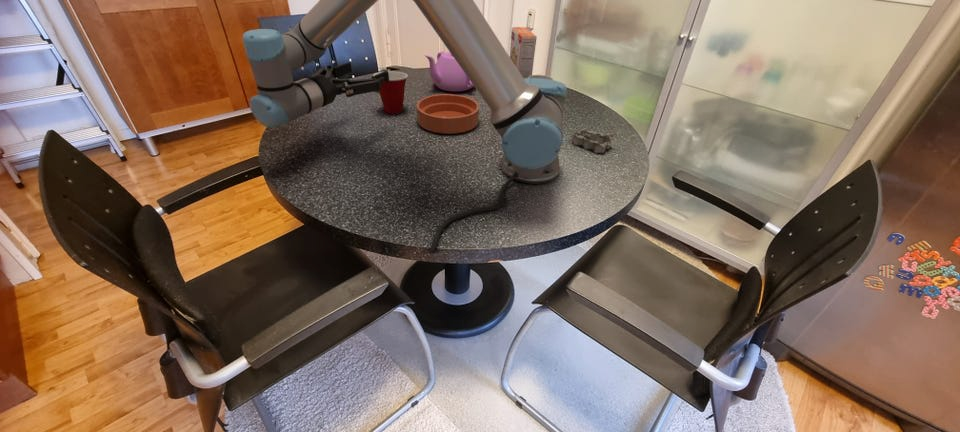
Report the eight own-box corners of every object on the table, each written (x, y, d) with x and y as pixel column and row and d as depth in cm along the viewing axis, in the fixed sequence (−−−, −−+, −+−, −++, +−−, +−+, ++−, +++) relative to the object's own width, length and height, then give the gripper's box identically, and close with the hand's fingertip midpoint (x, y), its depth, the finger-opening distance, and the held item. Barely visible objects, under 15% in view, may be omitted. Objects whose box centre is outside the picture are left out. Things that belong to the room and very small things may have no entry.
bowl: (468, 139, 110) (468, 122, 106) (407, 129, 113) (406, 112, 110) (485, 115, 125) (485, 99, 121) (431, 106, 128) (430, 90, 125)
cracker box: (506, 82, 152) (511, 26, 139) (520, 82, 153) (526, 26, 140) (514, 95, 141) (521, 35, 128) (530, 94, 142) (537, 35, 129)
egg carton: (612, 147, 110) (616, 135, 108) (599, 155, 106) (603, 142, 103) (581, 135, 116) (584, 123, 113) (568, 142, 111) (570, 130, 109)
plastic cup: (413, 105, 128) (411, 70, 121) (405, 118, 120) (402, 80, 112) (383, 103, 129) (379, 67, 121) (372, 115, 120) (367, 77, 113)
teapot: (410, 85, 144) (407, 47, 136) (454, 75, 156) (454, 39, 147) (445, 102, 132) (444, 62, 123) (489, 90, 144) (491, 52, 135)
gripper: (281, 97, 99) (337, 76, 114) (355, 118, 91) (405, 92, 106) (273, 68, 94) (333, 50, 109) (350, 88, 86) (403, 65, 102)
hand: (368, 71), depth 108 cm, fingers open, 13 cm apart
